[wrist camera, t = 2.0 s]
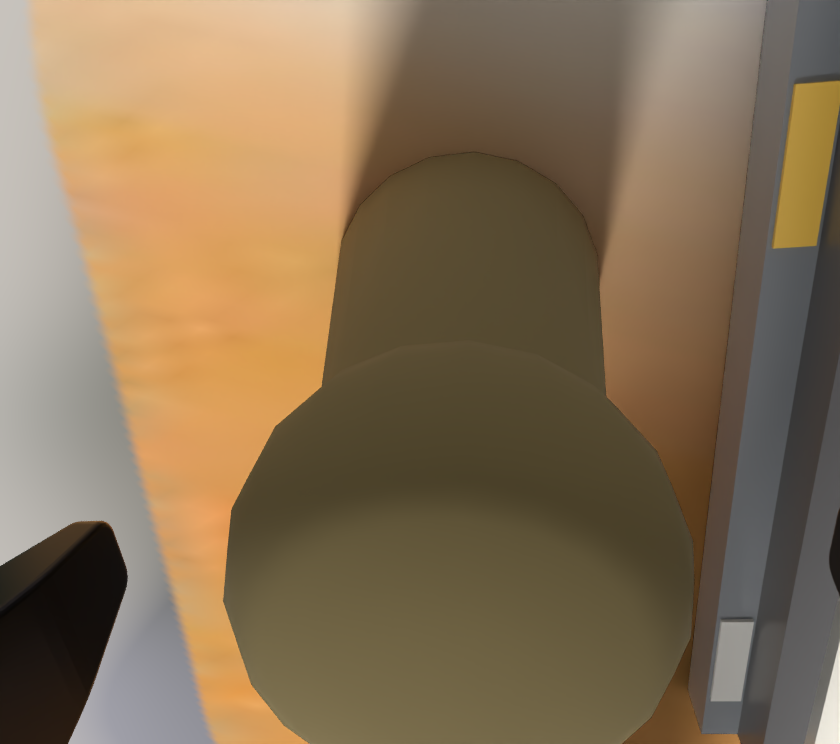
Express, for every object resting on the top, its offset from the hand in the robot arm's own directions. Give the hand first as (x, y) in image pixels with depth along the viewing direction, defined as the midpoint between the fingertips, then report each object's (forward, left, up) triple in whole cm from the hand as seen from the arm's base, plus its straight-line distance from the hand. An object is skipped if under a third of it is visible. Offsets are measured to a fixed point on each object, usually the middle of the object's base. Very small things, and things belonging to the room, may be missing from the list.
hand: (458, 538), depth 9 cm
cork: (0, 0, -9) cm, 9 cm away
